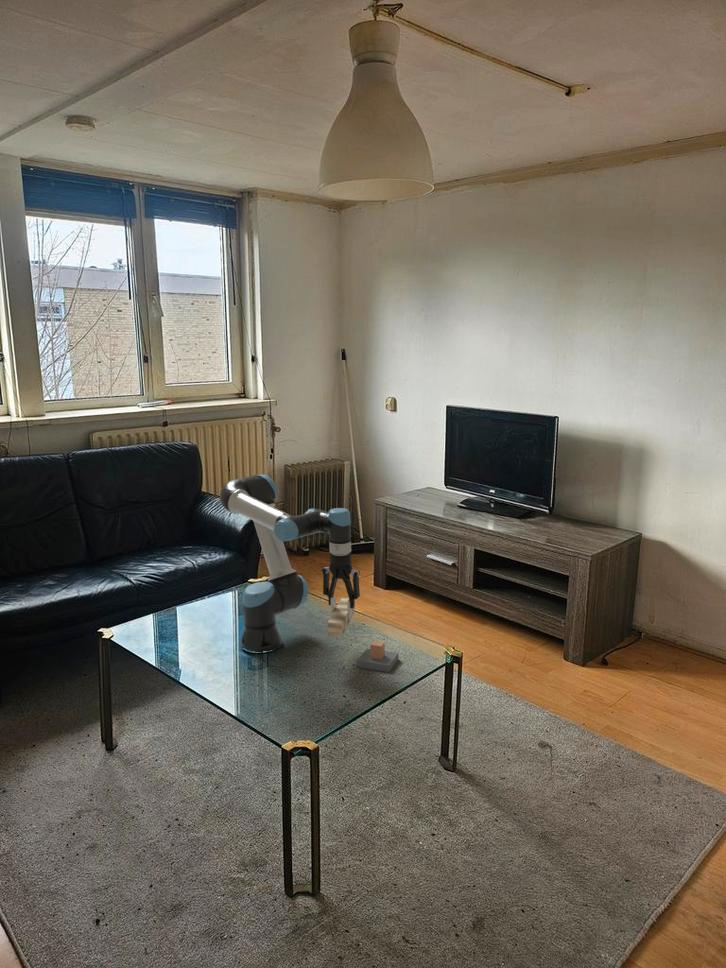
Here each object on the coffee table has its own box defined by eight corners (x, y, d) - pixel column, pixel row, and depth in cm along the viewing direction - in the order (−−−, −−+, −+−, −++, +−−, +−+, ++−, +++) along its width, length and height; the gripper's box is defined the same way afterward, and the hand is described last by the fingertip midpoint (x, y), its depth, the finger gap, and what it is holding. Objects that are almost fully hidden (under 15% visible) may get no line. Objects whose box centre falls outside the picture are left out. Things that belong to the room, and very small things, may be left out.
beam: (342, 636, 233) (342, 623, 232) (328, 635, 234) (327, 622, 233) (354, 611, 254) (354, 598, 253) (341, 610, 255) (341, 597, 254)
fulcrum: (356, 666, 239) (356, 646, 238) (367, 654, 248) (366, 635, 247) (389, 672, 235) (388, 651, 233) (398, 659, 244) (398, 639, 242)
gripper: (311, 553, 239) (313, 615, 244) (361, 558, 232) (362, 622, 237) (320, 547, 245) (322, 607, 250) (369, 552, 238) (370, 614, 243)
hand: (341, 615), depth 243 cm, fingers closed on beam, 6 cm apart
